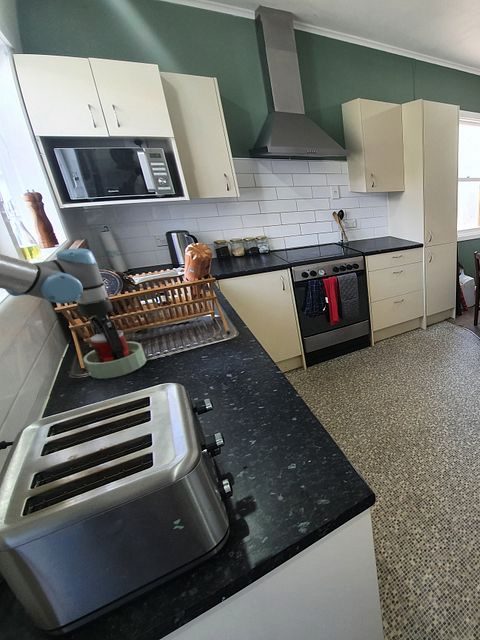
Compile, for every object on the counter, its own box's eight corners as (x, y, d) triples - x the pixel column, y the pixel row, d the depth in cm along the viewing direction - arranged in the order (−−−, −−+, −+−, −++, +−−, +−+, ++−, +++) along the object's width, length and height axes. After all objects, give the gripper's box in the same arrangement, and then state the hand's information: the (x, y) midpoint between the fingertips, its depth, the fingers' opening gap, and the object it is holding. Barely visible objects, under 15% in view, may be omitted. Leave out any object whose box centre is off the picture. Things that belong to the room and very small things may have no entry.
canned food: (138, 359, 118) (128, 330, 114) (117, 372, 111) (105, 341, 107) (118, 357, 119) (107, 328, 114) (95, 370, 112) (83, 339, 107)
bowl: (101, 385, 107) (93, 369, 104) (83, 370, 113) (76, 354, 111) (155, 364, 118) (149, 349, 115) (135, 352, 125) (130, 337, 122)
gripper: (122, 304, 104) (145, 368, 113) (95, 290, 113) (118, 350, 123) (90, 311, 98) (116, 379, 107) (64, 296, 107) (91, 359, 117)
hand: (117, 363), depth 115 cm, fingers closed on canned food, 8 cm apart
